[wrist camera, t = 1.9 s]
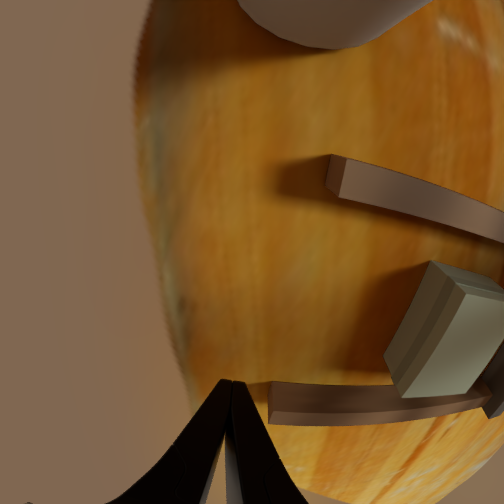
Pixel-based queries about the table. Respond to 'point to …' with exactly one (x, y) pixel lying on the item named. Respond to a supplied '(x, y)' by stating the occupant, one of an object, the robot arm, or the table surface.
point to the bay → (387, 397)
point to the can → (329, 19)
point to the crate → (446, 333)
